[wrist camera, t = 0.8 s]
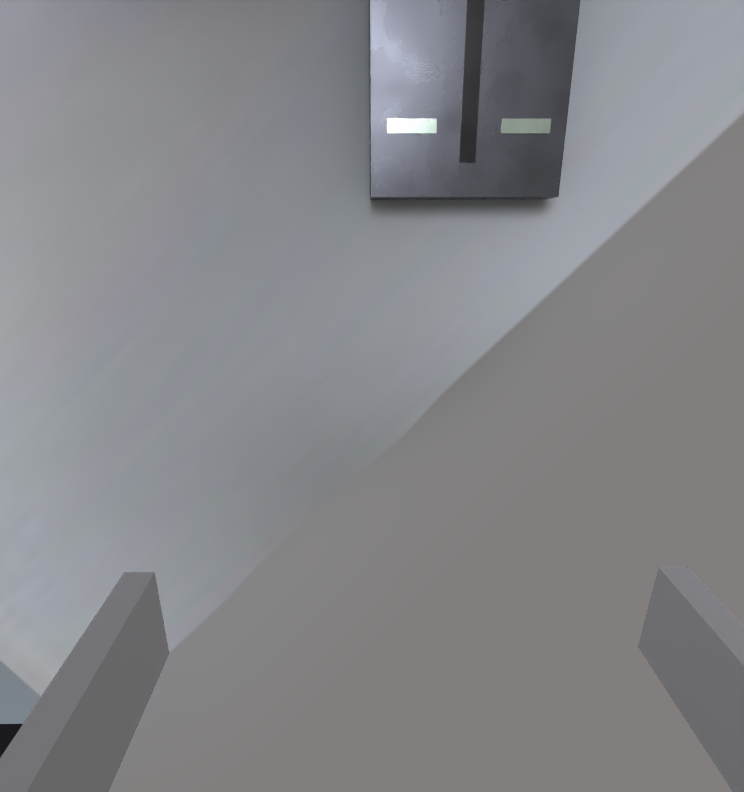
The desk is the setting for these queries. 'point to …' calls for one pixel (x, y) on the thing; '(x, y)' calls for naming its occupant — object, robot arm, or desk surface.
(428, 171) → the panel
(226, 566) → the desk surface
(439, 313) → the desk surface
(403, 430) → the desk surface
